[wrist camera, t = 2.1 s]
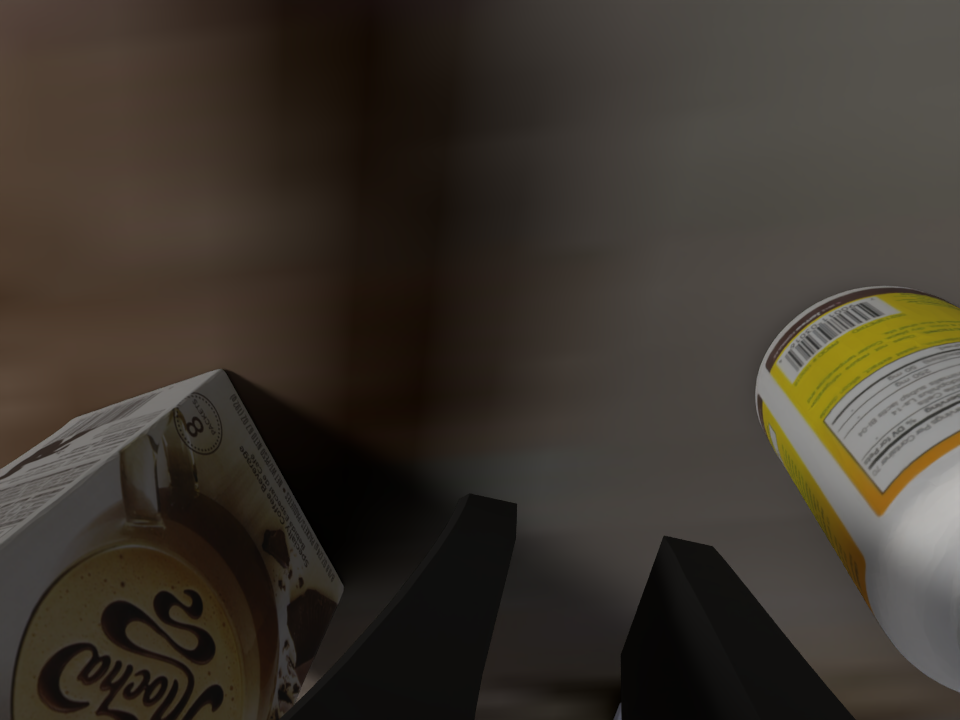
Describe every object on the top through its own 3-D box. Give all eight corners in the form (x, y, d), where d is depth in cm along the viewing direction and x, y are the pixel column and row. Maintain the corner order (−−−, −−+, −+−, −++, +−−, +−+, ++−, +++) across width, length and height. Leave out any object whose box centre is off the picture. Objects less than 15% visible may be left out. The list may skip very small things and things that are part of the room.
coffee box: (355, 588, 22) (-44, 1547, 8) (202, 624, 24) (-373, 1480, 9) (227, 358, 20) (-809, 1190, 5) (63, 416, 21) (-1105, 1181, 6)
